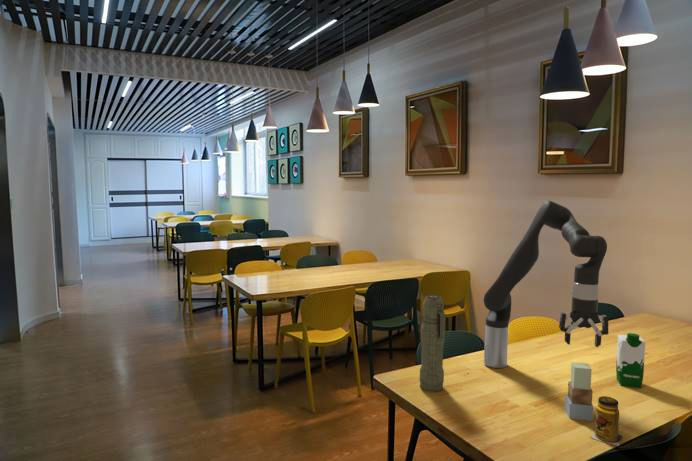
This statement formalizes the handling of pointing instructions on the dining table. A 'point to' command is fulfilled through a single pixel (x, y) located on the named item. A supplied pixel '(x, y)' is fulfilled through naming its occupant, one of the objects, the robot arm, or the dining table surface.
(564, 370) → the dining table surface
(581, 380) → the green block
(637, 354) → the milk carton
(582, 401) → the tower top
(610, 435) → the condiment
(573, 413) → the tower base
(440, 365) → the thermos
